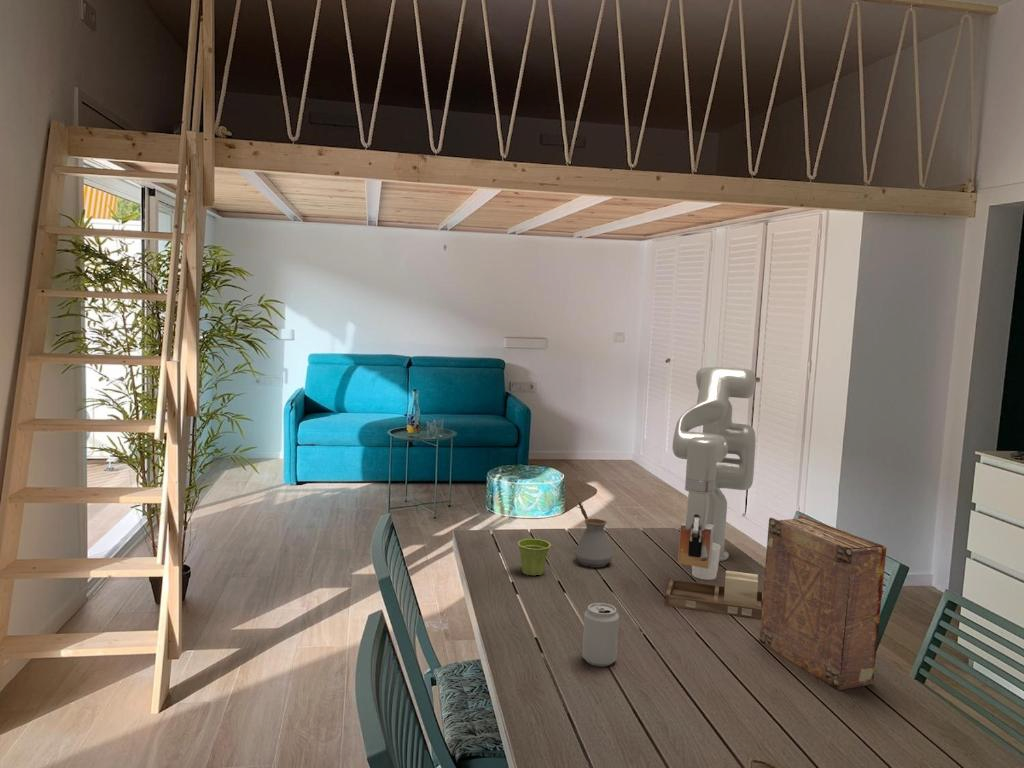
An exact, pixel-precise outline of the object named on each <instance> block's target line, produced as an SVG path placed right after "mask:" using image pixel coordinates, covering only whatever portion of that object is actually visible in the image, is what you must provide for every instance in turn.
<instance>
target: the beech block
mask: <svg viewBox="0 0 1024 768" xmlns="http://www.w3.org/2000/svg"><path fill="white" fill-rule="evenodd" d="M724 586H725V591H724V603H730V604H737V605H744V606H751V607H756V603H757V590H758V589H759V587H758V586H759V574H756V573H747V572H740V571H739V572H738V571H733V570H731V571H730V570H725V580H724Z"/></svg>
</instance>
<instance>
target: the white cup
mask: <svg viewBox="0 0 1024 768" xmlns="http://www.w3.org/2000/svg"><path fill="white" fill-rule="evenodd" d="M719 556H720V545H718V544H716V543H713V546H712V558H711V564H710V566H709V568H708V569H705V568H700V567H695V566H691V569H692V570H691V573H692V577H694V578H697V579H699V580H700V579H701V580H709V581H711V580H714V579H717V576H718V575H717V574H718V570H719V563H720V561H719Z"/></svg>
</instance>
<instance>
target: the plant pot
mask: <svg viewBox="0 0 1024 768" xmlns="http://www.w3.org/2000/svg"><path fill="white" fill-rule="evenodd" d="M517 545H518V547H519V551H520V563H521V564H520V565H521V572H522V573H524V574H523V575H525V574H527V575H526V576H528V575H533V576H536V575H540V576H542V575H544V571H545V567H546V561H547V556H548V553H549V550H550V547H551V545H552V544H551V543H550V542H549V541H547V540H543V539H539V538H524V539H521V540H519V541H518V542H517ZM541 574H542V575H541Z"/></svg>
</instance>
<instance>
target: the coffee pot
mask: <svg viewBox="0 0 1024 768" xmlns="http://www.w3.org/2000/svg"><path fill="white" fill-rule="evenodd" d="M575 507H576V508H579V509H580V513H581V514H582V517H583V518H584V519H585V520H584V523H585V526H586V529H585V530H584V532H583V534H582V536H581V537H580V540H579V542H578V544H577V546H576V548H575V550H574V556H575V558H576V559H577V561H578V562H580V564H581V565H583V566H585V567H588V566H590V567H589V568H602V567H605V566H606V565H608V563H610V562H611V561H612V559H613V556H614V554H613V551H612V548H611V545H610V544H609V540H608V538H607V534H606V531H605V529H604V528H605V525H607V522H608V521H607V520H604V519H598V518H589V517H588V515H587V512H586V510H585V509H584V505H583V503H582V502H577V503H576V504H575Z"/></svg>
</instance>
